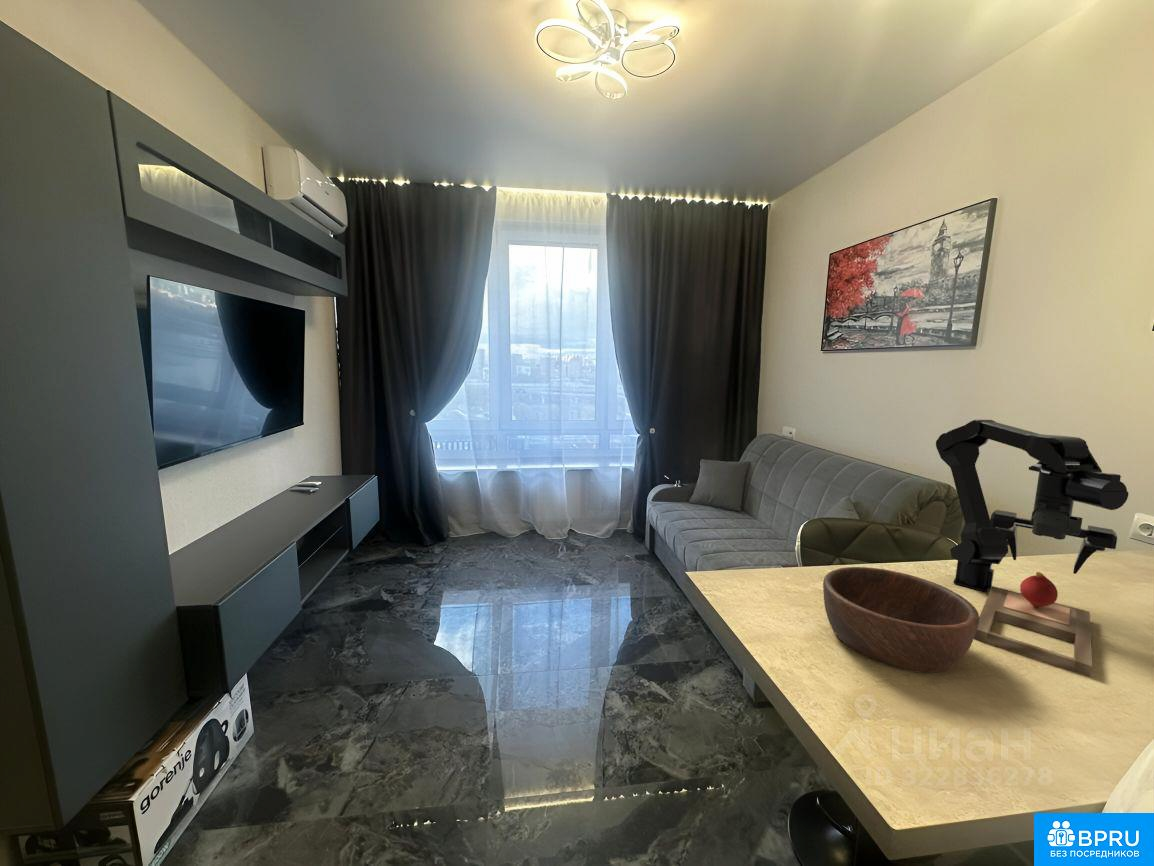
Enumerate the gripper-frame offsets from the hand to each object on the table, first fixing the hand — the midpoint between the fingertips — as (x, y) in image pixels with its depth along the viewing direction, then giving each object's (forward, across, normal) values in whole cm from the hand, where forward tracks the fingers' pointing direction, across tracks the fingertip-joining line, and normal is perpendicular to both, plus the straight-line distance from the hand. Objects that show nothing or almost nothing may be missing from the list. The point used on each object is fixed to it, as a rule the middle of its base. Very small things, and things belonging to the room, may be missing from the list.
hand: (1043, 566), depth 101 cm
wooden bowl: (+12, -19, -35) cm, 42 cm away
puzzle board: (+12, 0, -7) cm, 14 cm away
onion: (+10, 0, 0) cm, 10 cm away
